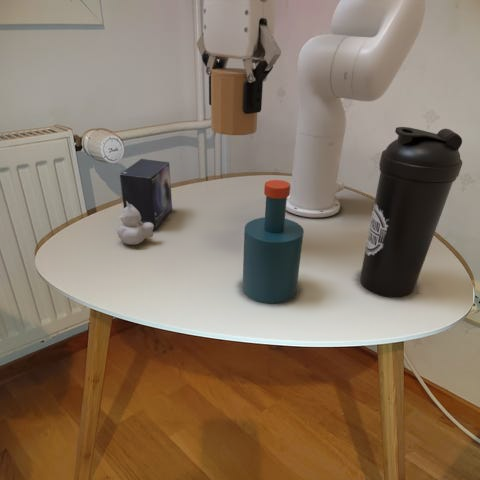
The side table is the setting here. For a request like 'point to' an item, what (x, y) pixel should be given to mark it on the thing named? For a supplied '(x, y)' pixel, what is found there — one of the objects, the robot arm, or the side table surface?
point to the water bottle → (408, 208)
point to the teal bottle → (272, 249)
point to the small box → (148, 190)
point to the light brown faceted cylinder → (230, 103)
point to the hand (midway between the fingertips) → (234, 107)
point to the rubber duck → (133, 226)
